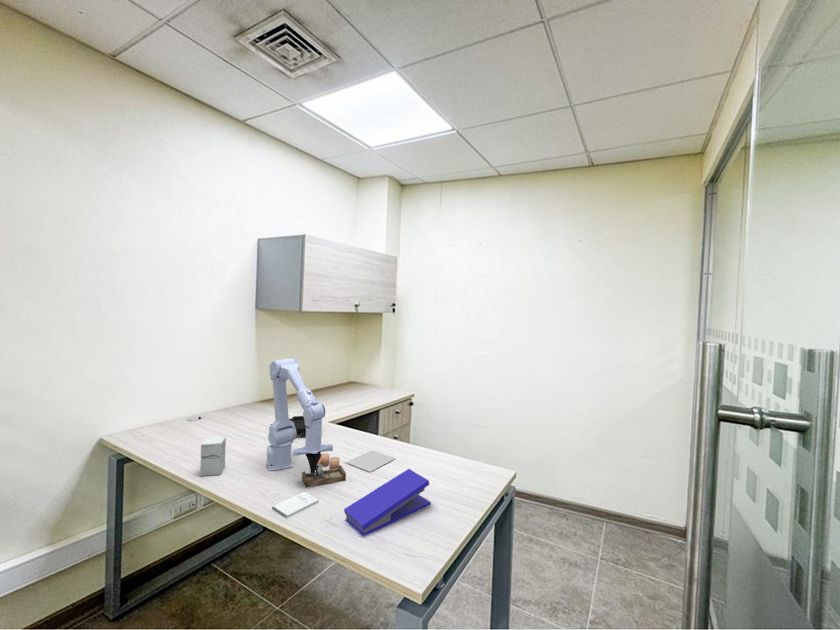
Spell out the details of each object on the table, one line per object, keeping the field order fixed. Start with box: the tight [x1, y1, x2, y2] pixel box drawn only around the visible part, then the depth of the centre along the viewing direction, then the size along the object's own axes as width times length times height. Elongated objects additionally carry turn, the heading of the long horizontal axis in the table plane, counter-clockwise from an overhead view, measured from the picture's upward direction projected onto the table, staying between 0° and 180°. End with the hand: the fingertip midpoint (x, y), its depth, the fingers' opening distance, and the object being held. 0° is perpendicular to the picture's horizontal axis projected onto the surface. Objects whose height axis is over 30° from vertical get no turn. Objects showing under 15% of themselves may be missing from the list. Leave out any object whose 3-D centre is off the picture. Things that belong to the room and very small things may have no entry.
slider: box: [313, 464, 325, 480], centre depth 142 cm, size 3×5×5 cm, turn 27°
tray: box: [270, 415, 306, 436], centre depth 195 cm, size 30×23×5 cm
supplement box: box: [199, 436, 227, 477], centre depth 146 cm, size 7×7×13 cm
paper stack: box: [345, 449, 397, 473], centre depth 155 cm, size 23×25×1 cm
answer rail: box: [301, 464, 347, 489], centre depth 143 cm, size 15×7×3 cm, turn 117°
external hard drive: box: [271, 491, 320, 519], centre depth 125 cm, size 2×8×12 cm
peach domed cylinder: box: [328, 456, 340, 470], centre depth 152 cm, size 4×4×4 cm
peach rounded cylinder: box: [321, 453, 330, 468], centre depth 156 cm, size 4×4×4 cm
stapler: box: [343, 468, 432, 537], centre depth 122 cm, size 12×28×10 cm, turn 132°
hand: (312, 471), depth 141 cm, fingers closed
